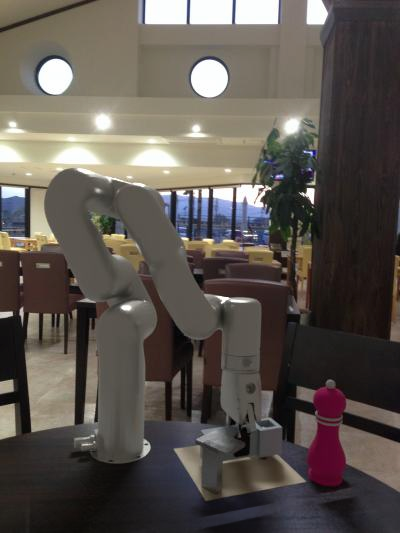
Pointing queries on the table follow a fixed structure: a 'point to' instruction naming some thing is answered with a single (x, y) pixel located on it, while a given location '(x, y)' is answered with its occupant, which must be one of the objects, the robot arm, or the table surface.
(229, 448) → the block
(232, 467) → the base board
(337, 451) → the pepper mill
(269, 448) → the link
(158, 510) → the table surface
